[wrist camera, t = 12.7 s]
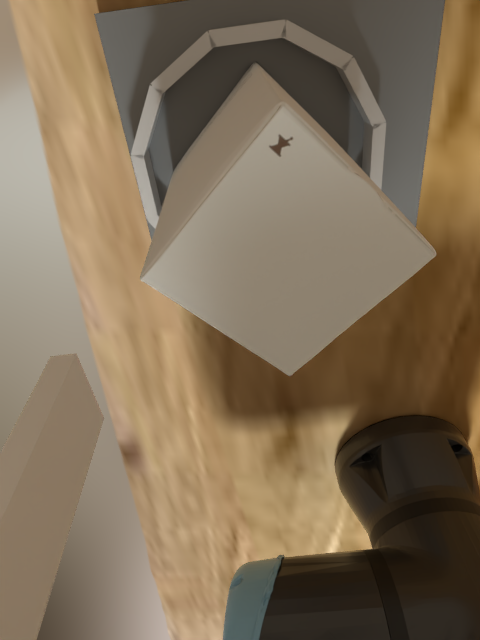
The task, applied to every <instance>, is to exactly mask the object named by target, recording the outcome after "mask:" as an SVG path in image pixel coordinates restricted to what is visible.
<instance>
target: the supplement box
mask: <svg viewBox="0 0 480 640" xmlns="http://www.w3.org/2000/svg"><path fill="white" fill-rule="evenodd" d="M436 255H437V254H436V251H435V249H434V248H433V247H432V245H431V244H430V243H429V242H428V241H427V240H426V239H425V237H424V236H423V235H422V234H421V233H420V232H419V231H418V230H417V229H416V227H415V226H414V225H413V224H412V223H411V222H410V221H409V220H408V219H407V218H406V217H405V216H404V214H403V213H402V212H401V211H400V210H399V209H398V208H397V207H396V206H395V205H394V204H393V202H392V201H391V200H390V199H389V198H388V197H387V196H386V195H385V194H384V193H383V192H382V191H381V189H380V188H379V187H378V186H377V185H376V184H375V183H374V182H373V181H372V180H371V179H370V178H369V177H368V175H367V174H366V173H365V172H364V171H363V170H362V169H361V168H360V167H359V166H358V165H357V164H356V163H355V162H354V160H353V159H352V158H351V157H350V156H349V155H348V154H347V153H346V152H345V151H344V150H343V149H342V148H341V147H340V146H339V144H338V143H337V142H336V141H335V140H334V139H333V138H332V137H331V136H330V135H329V134H328V133H327V132H326V131H325V130H324V129H323V128H322V127H321V126H320V125H319V124H318V123H317V122H316V121H315V120H314V119H313V118H312V117H311V116H310V115H309V114H308V113H307V112H306V111H305V110H304V109H303V108H302V107H301V106H300V105H299V104H298V103H297V102H296V101H295V100H294V99H293V98H292V97H291V96H290V95H289V94H288V93H287V92H286V91H285V90H284V89H283V88H282V87H281V86H280V85H279V84H278V83H277V82H276V81H275V80H274V79H273V78H272V77H271V76H270V75H269V74H268V73H267V72H266V71H265V70H264V69H263V68H262V67H261V66H260V65H259V64H258V63H256V62H254V63H253V64H252V65H251V66H250V68H249V69H248V70H247V71H246V73H245V74H244V75H243V77H242V78H241V79H240V81H239V82H238V83H237V85H236V86H235V88H234V89H233V90H232V92H231V93H230V94H229V96H228V97H227V98H226V100H225V101H224V102H223V104H222V105H221V106H220V108H219V109H218V110H217V112H216V113H215V114H214V116H213V117H212V118H211V120H210V121H209V122H208V124H207V125H206V126H205V128H204V129H203V130H202V132H201V133H200V134H199V136H198V137H197V138H196V140H195V141H194V142H193V144H192V145H191V146H190V148H189V149H188V150H187V152H186V153H185V155H184V156H183V157H182V159H181V160H180V162H179V163H178V165H177V166H176V168H175V169H174V172H173V174H172V177H171V180H170V183H169V187H168V190H167V193H166V196H165V200H164V203H163V206H162V210H161V213H160V216H159V220H158V223H157V226H156V229H155V232H154V235H153V238H152V242H151V245H150V248H149V251H148V254H147V257H146V260H145V263H144V266H143V269H142V272H141V276H140V280H141V281H143V282H145V283H146V284H148V285H149V286H151V287H153V288H154V289H156V290H157V291H159V292H160V293H162V294H164V295H165V296H167V297H168V298H170V299H171V300H173V301H174V302H176V303H177V304H179V305H180V306H182V307H183V308H185V309H187V310H188V311H190V312H191V313H193V314H194V315H196V316H197V317H199V318H200V319H202V320H203V321H205V322H206V323H208V324H210V325H211V326H213V327H214V328H216V329H217V330H219V331H220V332H222V333H223V334H225V335H226V336H228V337H230V338H231V339H233V340H234V341H236V342H237V343H239V344H240V345H242V346H243V347H245V348H247V349H248V350H250V351H251V352H253V353H254V354H256V355H257V356H259V357H261V358H262V359H264V360H265V361H267V362H268V363H270V364H272V365H273V366H275V367H276V368H278V369H279V370H281V371H282V372H284V373H285V374H287V375H288V376H291V375H292V374H293V373H294V372H296V371H297V370H298V369H299V368H301V367H302V366H303V365H304V364H306V363H307V362H308V361H310V360H311V359H312V358H313V357H314V356H316V355H317V354H318V353H319V352H320V351H321V350H322V349H324V348H325V347H326V346H327V345H328V344H330V343H331V342H332V341H333V340H334V339H335V338H336V337H338V336H339V335H340V334H341V333H343V332H344V331H345V330H346V329H348V328H349V327H350V326H351V325H352V324H353V323H355V322H356V321H357V320H358V319H360V318H361V317H362V316H363V315H365V314H366V313H367V312H368V311H370V310H371V309H372V308H373V307H374V306H376V305H377V304H378V303H379V302H381V301H382V300H383V299H384V298H386V297H387V296H388V295H390V294H391V293H392V292H393V291H394V290H396V289H397V288H398V287H399V286H401V285H402V284H403V283H404V282H405V281H407V280H408V279H409V278H410V277H412V276H413V275H414V274H415V273H416V272H418V271H419V270H420V269H421V268H422V267H423V266H425V265H426V264H427V263H428V262H429V261H430V260H432V259H433V258H434V257H435V256H436Z"/></svg>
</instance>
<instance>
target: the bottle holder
mask: <svg viewBox="0 0 480 640" xmlns="http://www.w3.org/2000/svg"><path fill="white" fill-rule="evenodd" d="M444 4H445V0H187V1H180V2H173V3H166V4H159V5H152V6H145V7H139V8H132V9H125V10H118V11H111V12H104V13H97V14H94V15H95V19H96V23H97V27H98V31H99V34H100V38H101V42H102V46H103V50H104V54H105V58H106V62H107V66H108V70H109V74H110V78H111V82H112V86H113V90H114V94H115V98H116V101H117V105H118V109H119V113H120V117H121V121H122V125H123V129H124V133H125V137H126V141H127V145H128V149H129V153H130V157H131V161H132V165H133V169H134V172H135V176H136V180H137V184H138V188H139V192H140V196H141V200H142V204H143V208H144V212H145V216H146V220H147V224H148V228H149V232H150V236H151V240H152V238H153V235H154V232H155V229H156V226H157V223H158V220H159V216H160V213H161V210H162V206H163V203H164V200H165V196H166V193H167V190H168V187H169V183H170V180H171V177H172V174H173V172H174V169H175V168H176V166H177V165H178V163H179V162H180V160H181V159H182V157H183V156H184V155H185V153H186V152H187V150H188V149H189V148H190V146H191V145H192V144H193V142H194V141H195V140H196V138H197V137H198V136H199V134H200V133H201V132H202V130H203V129H204V128H205V126H206V125H207V124H208V122H209V121H210V120H211V118H212V117H213V116H214V114H215V113H216V112H217V110H218V109H219V108H220V106H221V105H222V104H223V102H224V101H225V100H226V98H227V97H228V96H229V94H230V93H231V92H232V90H233V89H234V88H235V86H236V85H237V83H238V82H239V81H240V79H241V78H242V77H243V75H244V74H245V73H246V71H247V70H248V69H249V68H250V66H251V65H252V64H253V63H254V62H256V63H258V64H259V65H260V66H261V67H262V68H263V69H264V70H265V71H266V72H267V73H268V74H269V75H270V76H271V77H272V78H273V79H274V80H275V81H276V82H277V83H278V84H279V85H280V86H281V87H282V88H283V89H284V90H285V91H286V92H287V93H288V94H289V95H290V96H291V97H292V98H293V99H294V100H295V101H296V102H297V103H298V104H299V105H300V106H301V107H302V108H303V109H304V110H305V111H306V112H307V113H308V114H309V115H310V116H311V117H312V118H313V119H314V120H315V121H316V122H317V123H318V124H319V125H320V126H321V127H322V128H323V129H324V130H325V131H326V132H327V133H328V134H329V135H330V136H331V137H332V138H333V139H334V140H335V141H336V142H337V143H338V144H339V146H340V147H341V148H342V149H343V150H344V151H345V152H346V153H347V154H348V155H349V156H350V157H351V158H352V159H353V160H354V162H355V163H356V164H357V165H358V166H359V167H360V168H361V169H362V170H363V171H364V172H365V173H366V174H367V175H368V177H369V178H370V179H371V180H372V181H373V182H374V183H375V184H376V185H377V186H378V187H379V188H380V189H381V191H382V192H383V193H384V194H385V195H386V196H387V197H388V198H389V199H390V200H391V201H392V202H393V204H394V205H395V206H396V207H397V208H398V209H399V210H400V211H401V212H402V213H403V214H404V216H405V217H406V218H407V219H408V220H409V221H410V222H411V223H412V224H413V225H414V226H415V227H416V222H417V214H418V207H419V199H420V191H421V183H422V175H423V168H424V160H425V152H426V144H427V136H428V129H429V121H430V113H431V105H432V97H433V90H434V82H435V74H436V66H437V58H438V51H439V43H440V35H441V27H442V19H443V12H444Z"/></svg>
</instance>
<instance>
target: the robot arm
mask: <svg viewBox="0 0 480 640" xmlns="http://www.w3.org/2000/svg"><path fill="white" fill-rule="evenodd" d="M103 420H104V417H103V415H102V412H101V410H100V408H99V405H98V403H97V401H96V399H95V396H94V394H93V391H92V389H91V387H90V384H89V382H88V380H87V377H86V375H85V373H84V370H83V368H82V366H81V363H80V361H79V359H78V356H77V354H68V355H59V356H51V357H50V359H49V361H48V363H47V365H46V366H45V369H44V370H43V372H42V374H41V376H40V378H39V380H38V382H37V384H36V386H35V388H34V390H33V392H32V393H31V395H30V397H29V399H28V401H27V403H26V405H25V407H24V408H23V411H22V412H21V414H20V416H19V418H18V420H17V422H16V424H15V426H14V428H13V429H12V431H11V433H10V435H9V437H8V439H7V441H6V443H5V445H4V447H3V449H2V450H1V452H0V640H36V639H37V636H38V632H39V629H40V626H41V622H42V619H43V616H44V613H45V610H46V606H47V603H48V600H49V596H50V593H51V589H52V587H53V583H54V580H55V577H56V574H57V570H58V567H59V563H60V560H61V557H62V554H63V551H64V547H65V544H66V541H67V538H68V534H69V531H70V528H71V524H72V521H73V518H74V515H75V511H76V508H77V505H78V502H79V498H80V495H81V492H82V488H83V485H84V482H85V479H86V475H87V472H88V469H89V465H90V462H91V459H92V456H93V452H94V449H95V446H96V443H97V439H98V436H99V433H100V430H101V426H102V423H103ZM335 472H336V476H337V480H338V484H339V487H340V490H341V492H342V494H343V496H344V498H345V499H346V501H347V502H348V504H349V505H350V507H351V508H352V510H353V512H354V513H355V515H356V516H357V518H358V519H359V521H360V522H361V524H362V525H363V527H364V528H365V530H366V532H367V533H368V535H369V538H370V541H371V545H372V548H373V549H369V550H356V551H346V552H336V553H326V554H316V555H305V556H295V557H285V558H284V555H279V556H278V557H277V558H273V559H266V560H260V561H253V562H248V563H246V564H244V565H242V566H241V567H240V568H239V569H238V570H237V571H236V573H235V575H234V577H233V579H232V582H231V585H230V589H229V594H228V600H227V606H226V613H225V622H224V632H223V640H480V493H479V487H478V481H477V475H476V469H475V463H474V458H473V454H472V452H471V449H470V447H469V446H468V444H467V442H466V440H465V439H464V437H463V435H462V434H461V432H460V431H459V430H458V429H457V428H456V427H455V426H453V425H452V424H450V423H448V422H446V421H444V420H441V419H438V418H433V417H427V416H406V417H399V418H394V419H389V420H386V421H383V422H380V423H377V424H375V425H372V426H370V427H368V428H366V429H364V430H363V431H361V432H359V433H358V434H356V435H355V436H354V437H352V438H351V439H350V440H349V441H348V442H347V443H346V444H345V445H344V446H343V448H342V449H341V450H340V452H339V454H338V456H337V459H336V463H335Z"/></svg>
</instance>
